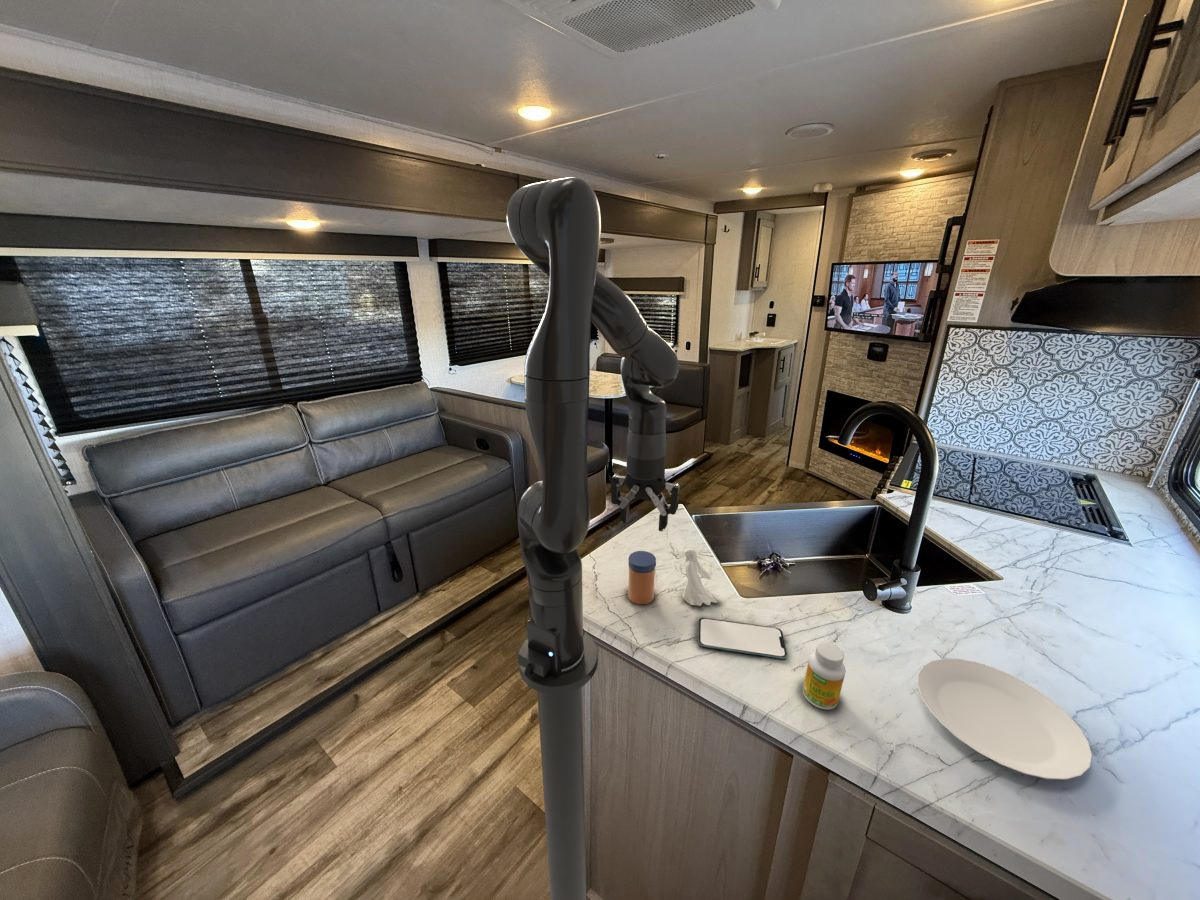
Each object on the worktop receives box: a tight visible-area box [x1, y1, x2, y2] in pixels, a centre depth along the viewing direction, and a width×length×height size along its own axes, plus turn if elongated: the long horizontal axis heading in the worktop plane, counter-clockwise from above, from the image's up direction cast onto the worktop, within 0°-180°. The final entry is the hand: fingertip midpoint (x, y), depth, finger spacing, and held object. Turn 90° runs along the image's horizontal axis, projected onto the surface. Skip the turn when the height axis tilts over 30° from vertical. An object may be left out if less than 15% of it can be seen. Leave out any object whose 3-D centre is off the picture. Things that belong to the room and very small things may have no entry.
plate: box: [916, 658, 1093, 781], centre depth 72 cm, size 21×21×2 cm
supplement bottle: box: [802, 641, 847, 710], centre depth 75 cm, size 5×5×10 cm
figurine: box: [682, 547, 718, 607], centre depth 97 cm, size 8×8×12 cm
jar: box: [627, 566, 656, 605], centre depth 99 cm, size 6×6×9 cm
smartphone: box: [697, 617, 788, 660], centre depth 88 cm, size 8×1×16 cm
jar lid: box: [627, 550, 657, 572], centre depth 97 cm, size 6×6×2 cm
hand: (643, 525), depth 94 cm, fingers open, 7 cm apart
